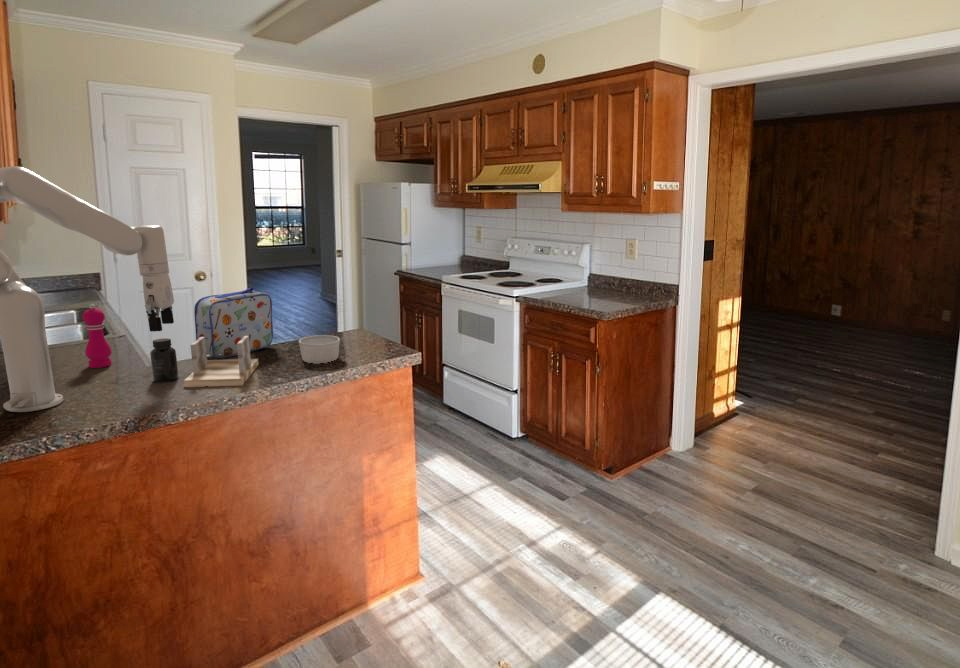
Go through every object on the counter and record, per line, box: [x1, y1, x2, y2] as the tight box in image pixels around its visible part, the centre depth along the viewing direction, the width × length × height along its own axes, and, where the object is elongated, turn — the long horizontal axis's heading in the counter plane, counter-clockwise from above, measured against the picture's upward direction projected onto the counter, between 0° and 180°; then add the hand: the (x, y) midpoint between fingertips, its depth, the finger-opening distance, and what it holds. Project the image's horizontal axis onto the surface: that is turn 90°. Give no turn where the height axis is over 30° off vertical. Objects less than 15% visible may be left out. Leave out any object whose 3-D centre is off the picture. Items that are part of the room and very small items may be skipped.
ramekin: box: [298, 334, 341, 365], centre depth 211 cm, size 13×13×7 cm
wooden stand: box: [183, 336, 260, 388], centre depth 193 cm, size 22×16×11 cm
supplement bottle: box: [149, 337, 179, 383], centre depth 189 cm, size 7×7×12 cm
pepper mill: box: [82, 303, 113, 369], centre depth 202 cm, size 7×7×20 cm
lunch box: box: [193, 287, 274, 359], centre depth 218 cm, size 28×10×22 cm, turn 149°
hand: (162, 327), depth 187 cm, fingers open, 9 cm apart
